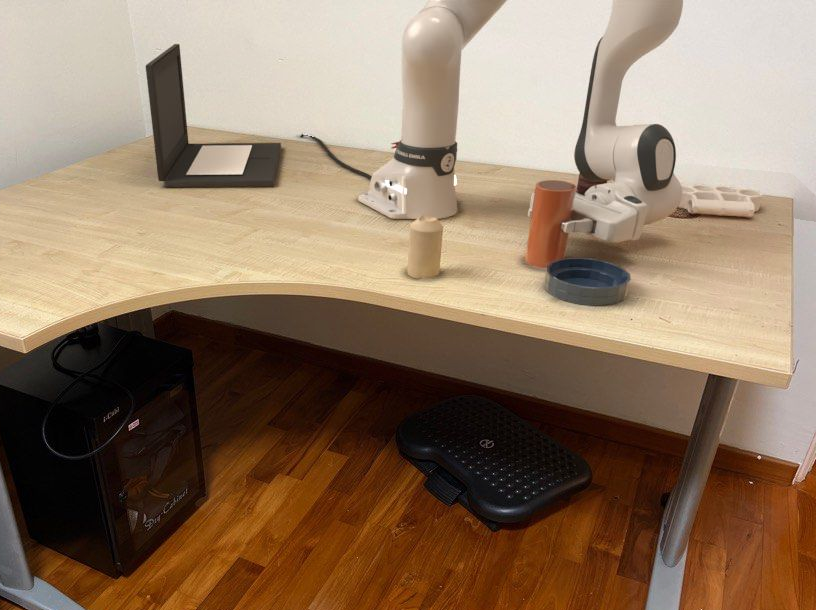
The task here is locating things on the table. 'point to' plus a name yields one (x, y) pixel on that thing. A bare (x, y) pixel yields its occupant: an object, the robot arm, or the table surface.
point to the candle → (425, 247)
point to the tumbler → (549, 222)
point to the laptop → (198, 161)
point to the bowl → (587, 281)
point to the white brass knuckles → (720, 200)
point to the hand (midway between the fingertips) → (546, 220)
